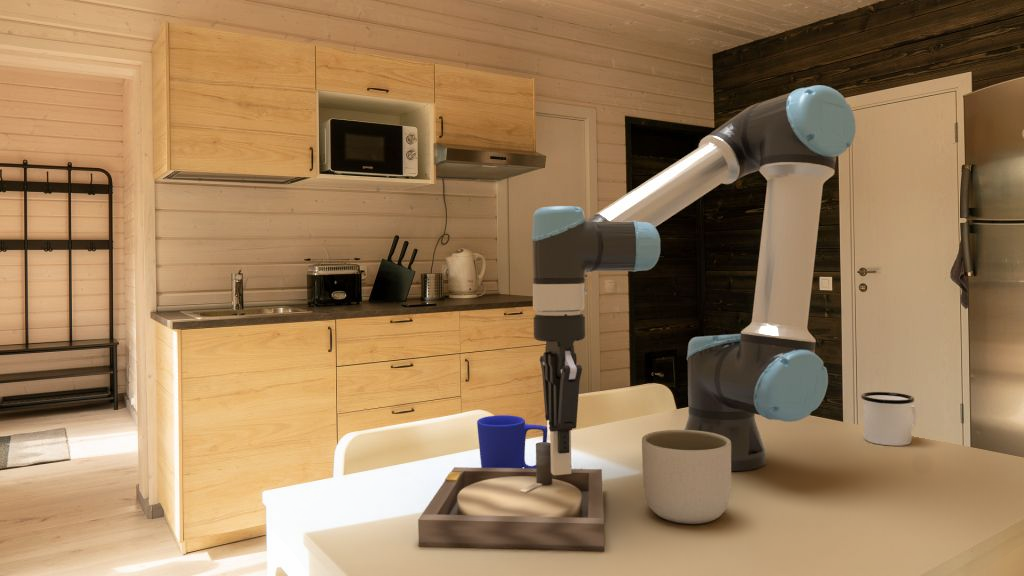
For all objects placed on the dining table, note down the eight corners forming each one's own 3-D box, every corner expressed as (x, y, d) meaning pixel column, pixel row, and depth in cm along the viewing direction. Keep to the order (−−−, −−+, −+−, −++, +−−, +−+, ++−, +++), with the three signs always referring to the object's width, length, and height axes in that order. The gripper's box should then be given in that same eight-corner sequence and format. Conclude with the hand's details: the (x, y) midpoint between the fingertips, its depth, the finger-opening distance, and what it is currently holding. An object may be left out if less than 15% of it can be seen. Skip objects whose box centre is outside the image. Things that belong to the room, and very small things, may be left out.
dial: (535, 544, 90) (534, 479, 90) (431, 517, 101) (430, 458, 101) (604, 504, 105) (603, 448, 105) (507, 484, 116) (506, 433, 115)
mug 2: (888, 449, 135) (888, 402, 135) (850, 438, 144) (850, 393, 144) (935, 442, 139) (935, 397, 139) (895, 432, 148) (895, 389, 148)
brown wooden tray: (602, 490, 114) (601, 467, 113) (604, 551, 90) (603, 521, 90) (454, 488, 116) (454, 465, 116) (418, 546, 92) (418, 517, 92)
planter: (717, 537, 94) (716, 455, 93) (629, 520, 100) (628, 444, 100) (741, 508, 104) (740, 435, 104) (660, 495, 111) (659, 426, 110)
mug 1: (544, 487, 116) (543, 426, 116) (472, 484, 118) (471, 424, 118) (551, 472, 124) (550, 416, 124) (484, 470, 126) (483, 414, 126)
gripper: (599, 314, 98) (600, 484, 99) (569, 309, 111) (571, 459, 111) (546, 316, 96) (549, 488, 97) (523, 311, 109) (525, 463, 110)
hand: (561, 472), depth 104 cm, fingers closed
